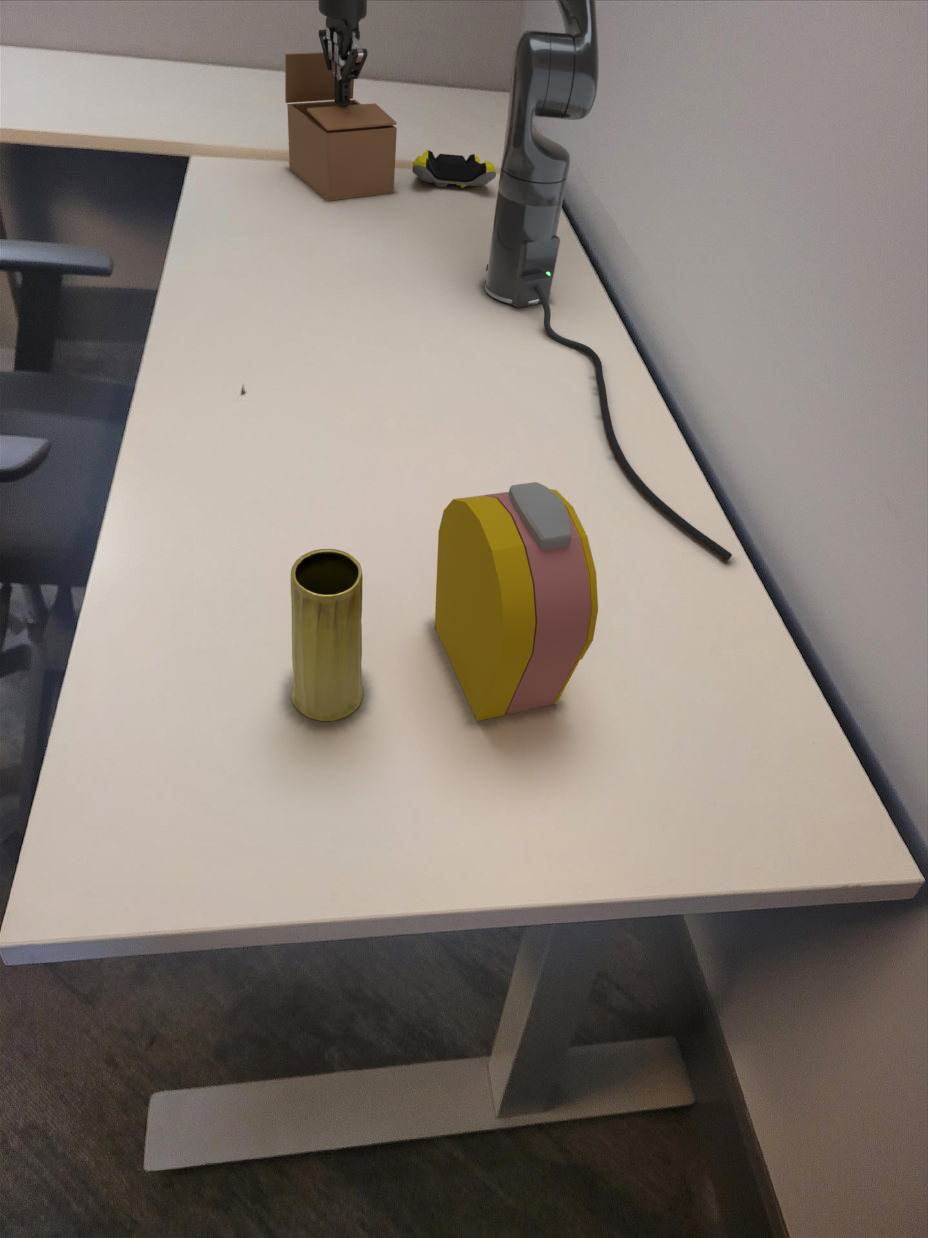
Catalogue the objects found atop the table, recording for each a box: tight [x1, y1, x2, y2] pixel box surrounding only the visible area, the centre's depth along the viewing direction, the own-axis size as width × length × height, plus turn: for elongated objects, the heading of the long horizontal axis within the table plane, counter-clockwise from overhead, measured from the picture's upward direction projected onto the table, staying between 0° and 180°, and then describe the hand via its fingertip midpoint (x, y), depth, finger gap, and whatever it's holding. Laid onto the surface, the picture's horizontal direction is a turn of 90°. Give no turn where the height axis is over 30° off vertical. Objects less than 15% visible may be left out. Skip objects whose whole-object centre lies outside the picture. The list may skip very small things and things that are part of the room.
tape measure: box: [434, 481, 599, 722], centre depth 70 cm, size 15×8×18 cm, turn 20°
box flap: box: [307, 103, 398, 131], centre depth 142 cm, size 7×13×1 cm, turn 123°
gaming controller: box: [411, 149, 497, 188], centre depth 155 cm, size 15×6×10 cm
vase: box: [290, 548, 365, 722], centre depth 67 cm, size 6×6×14 cm
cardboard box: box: [284, 51, 398, 202], centre depth 146 cm, size 16×13×18 cm
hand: (342, 104), depth 143 cm, fingers closed
